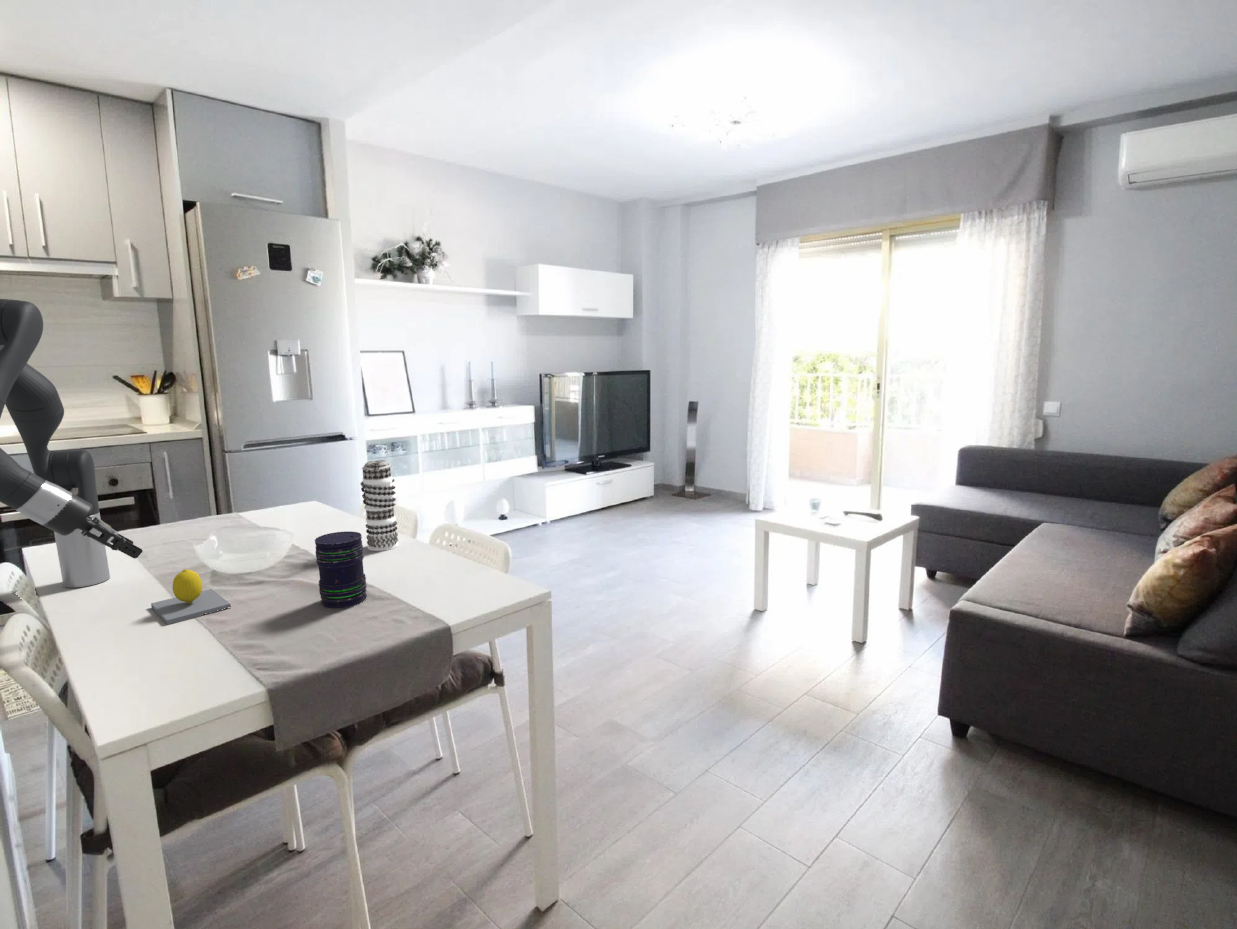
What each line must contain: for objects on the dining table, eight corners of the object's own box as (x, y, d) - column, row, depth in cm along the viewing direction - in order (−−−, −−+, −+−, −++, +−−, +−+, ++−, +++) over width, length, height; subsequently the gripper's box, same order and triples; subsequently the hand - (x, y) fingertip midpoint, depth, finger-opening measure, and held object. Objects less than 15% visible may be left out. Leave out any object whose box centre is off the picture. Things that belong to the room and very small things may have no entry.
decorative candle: (367, 543, 193) (359, 460, 189) (400, 540, 196) (393, 458, 192) (365, 552, 185) (357, 465, 180) (399, 549, 188) (392, 463, 183)
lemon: (171, 609, 143) (166, 574, 142) (180, 600, 149) (175, 566, 147) (200, 606, 145) (195, 571, 143) (207, 597, 150) (203, 564, 149)
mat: (151, 607, 147) (151, 603, 147) (212, 592, 156) (211, 588, 156) (167, 624, 138) (166, 620, 138) (230, 608, 146) (230, 603, 146)
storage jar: (317, 611, 144) (310, 545, 141) (324, 595, 153) (318, 533, 150) (365, 606, 146) (359, 541, 144) (369, 590, 155) (364, 529, 153)
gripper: (76, 497, 124) (156, 542, 135) (64, 487, 134) (140, 529, 144) (44, 530, 122) (128, 573, 132) (34, 517, 131) (114, 558, 141)
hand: (134, 550), depth 138 cm, fingers open, 8 cm apart
